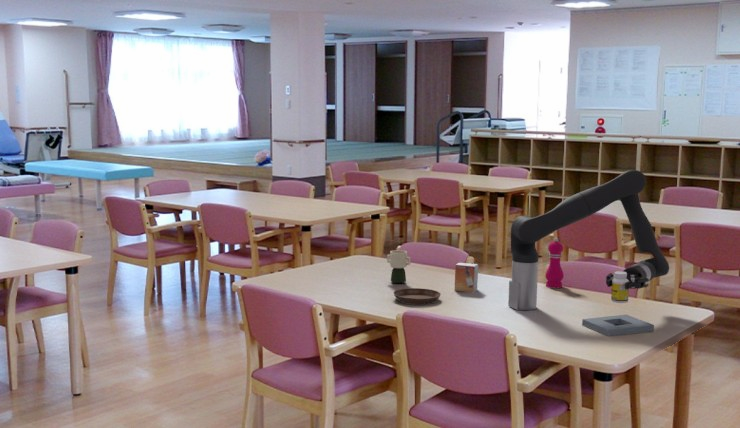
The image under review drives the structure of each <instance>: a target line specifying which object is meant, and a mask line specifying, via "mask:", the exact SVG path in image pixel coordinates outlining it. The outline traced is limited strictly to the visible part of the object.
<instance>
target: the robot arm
mask: <svg viewBox="0 0 740 428" xmlns="http://www.w3.org/2000/svg"><path fill="white" fill-rule="evenodd" d="M646 185H647V179H646V176H645V174H644V173H643V172H642V171H640V170H637V169H628V170H625V171H624V172H622V173H621V174H619V175H618V176H616V177H615V178H612V179H611V180H609V181H608V182H605V183H603V184H600V185H597V186H592V187H590V188H587V189H585V190H582V191H579V192H577V193H575V194H573V195H570V196H568V197H567V198H565V199H563V200H562V201H561V202H560V203H558V204H557V205H556V206H555V207H554V208H553V209H551V210H550V211H548V212H546V213H543V214H540V215H537V216H533V217H531V216H528V215H519V216H518V217H516V218H515V219H514V220H513V221H512V224H511V226H510V253H511V257H512V258H511V259H512V260H511V280H509V283H508V303H507V304H508V307H509V308H512V309H513V310H514V309H515V310H516V311H518V310H520V311H533V310H536V309H537V304H538V303H537V301H538V277H539V275H538V274H539V253H538V251H537V247H536V243H537V242H539V241H540V240H542V239H544V238H545V237H547V236H548V235H550V234H552V233H554V232H556V231H558V230H561V229H562V228H564V227H567V226H570V225H571V224H574V223H577V222H579V221H581V220H584V219H586V218H588V217H590V216H592V215H595V214H596V213H599V212H600V211H601V210H603V209H605V208H607V207H608V206H610V205H612V203H615V202H616V201H619V200H620V202H621V205H622V206H623V209H624V211H625V214H626V216H627V219H628V222H629V224H630V228H631V231H632V236H633V239H634V241H635V245H636V249H637V251H638V252H639V253H640V254H650V255H652V257H651V258H647V259H643V260H641V261H638V262H637V263H636V264H633V265H631V266H629V267H627V268H625V269H623V272H626V273H627V277H626V279H628V280H629V281H628V282H626V283H625V289H627V290H628V289H629V290H636V289H638V290H639V289H643V288H646V287H647V288H648V287H649V282H650V281H652V280H653V279H654V278H658V277H663V276H666V275H668V273H669V272H670V271H669V270H670V263H669V262H668V260H667V258H666V257H665V255H664V254H663V252H662V250H661V248H660V247H659V245H658V242H657V238H656V235H655V231H654V228H653V226H652V224H651V222H650V220H649V219H648V217H647V216H646V214H645V212H644V210H643V207H642V205H641V202H640V195H639V194H640V193H641V192H643V191H644V189H645V187H646ZM614 278H615V277H614V273H611V272H610V273H609V274H607V275H606V276H605V284H606V286H607V287H608V288H610V287H611V288H612V279H614Z"/></svg>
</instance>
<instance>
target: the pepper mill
mask: <svg viewBox="0 0 740 428" xmlns="http://www.w3.org/2000/svg"><path fill="white" fill-rule="evenodd" d="M547 251H548V252H549V253H548V257H549V264H548V267H547V269H546V272H545V276H544V277H545V278H546V280H547V281H546V282H545V283H546V287H547V288H549V287H552V288H551V289H560V288H562V287H563V282H562V280H564V271H563V268H562V266H561V258H562V255H563V254H562V252H564V245H563V243H562V242H560V241H559V238H558V237H554V238H553V241H551V242H550V243H549V244H548V247H547Z"/></svg>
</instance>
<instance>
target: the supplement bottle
mask: <svg viewBox="0 0 740 428" xmlns="http://www.w3.org/2000/svg"><path fill="white" fill-rule="evenodd" d="M623 271H624V270H623ZM623 271H621V270H620V271H619V270H616V271H614V273H613V275H614V277H615V278H614V279H612V286H611V295H610V296H611V297H610V300H611V302H613V303H616V304H626V303H628V302H629V292H630V291H629V290H630V289H628V290H627V289H625V283H626V282H628V281H629V280H628V279H626V277H627V273H626V272H623Z"/></svg>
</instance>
